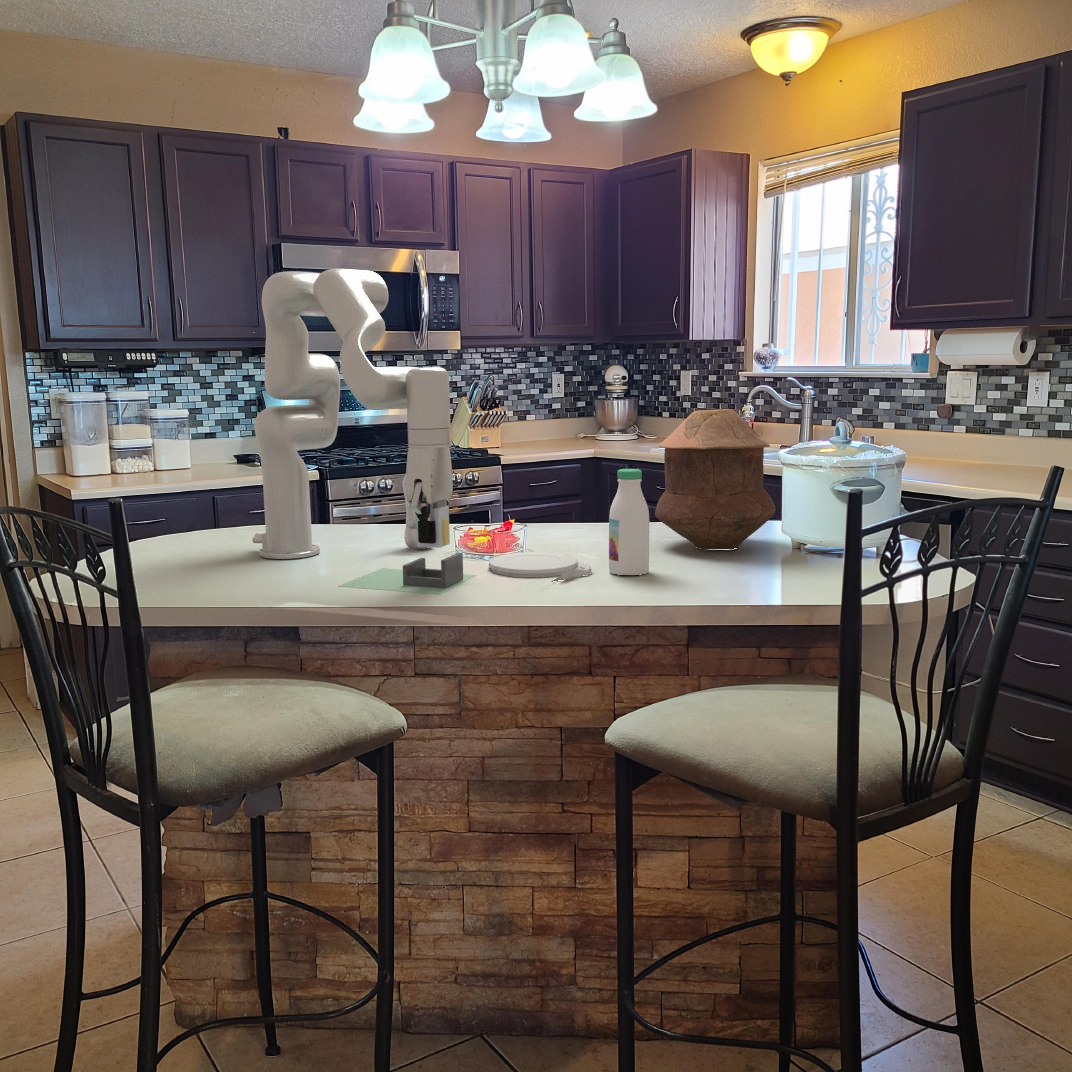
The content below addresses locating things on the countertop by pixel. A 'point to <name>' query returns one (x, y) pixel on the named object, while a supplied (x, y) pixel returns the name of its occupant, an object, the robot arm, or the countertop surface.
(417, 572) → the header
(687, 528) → the pottery vessel
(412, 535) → the plastic bottle
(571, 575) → the lid
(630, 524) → the milk bottle
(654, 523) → the countertop surface
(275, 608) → the countertop surface
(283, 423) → the robot arm
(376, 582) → the board
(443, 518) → the plug
